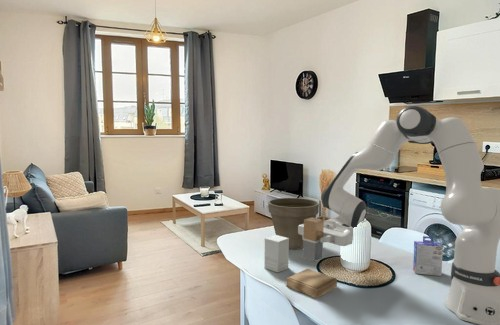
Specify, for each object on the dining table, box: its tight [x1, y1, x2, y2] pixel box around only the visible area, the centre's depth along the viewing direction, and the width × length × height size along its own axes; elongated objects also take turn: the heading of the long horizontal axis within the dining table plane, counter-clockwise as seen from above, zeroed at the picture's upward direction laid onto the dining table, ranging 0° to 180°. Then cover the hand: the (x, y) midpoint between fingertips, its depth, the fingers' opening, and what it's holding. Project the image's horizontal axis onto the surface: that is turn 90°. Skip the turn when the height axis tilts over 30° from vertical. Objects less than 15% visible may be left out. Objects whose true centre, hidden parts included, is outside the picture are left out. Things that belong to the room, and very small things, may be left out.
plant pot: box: [267, 197, 320, 250], centre depth 173 cm, size 25×25×22 cm
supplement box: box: [263, 234, 290, 273], centre depth 143 cm, size 7×7×13 cm
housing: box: [302, 217, 325, 262], centre depth 125 cm, size 5×5×14 cm
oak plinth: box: [285, 268, 338, 299], centre depth 126 cm, size 13×13×3 cm
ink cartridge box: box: [412, 235, 444, 277], centre depth 141 cm, size 10×6×14 cm, turn 78°
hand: (311, 238), depth 124 cm, fingers closed on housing, 5 cm apart
